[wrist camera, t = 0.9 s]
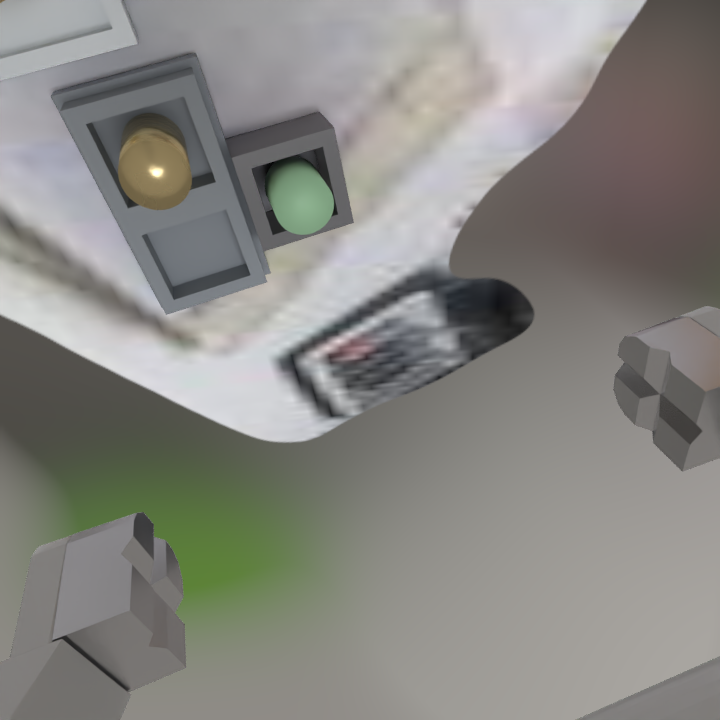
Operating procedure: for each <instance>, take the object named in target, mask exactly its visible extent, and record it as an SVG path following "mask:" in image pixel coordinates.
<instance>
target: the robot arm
mask: <svg viewBox="0 0 720 720" xmlns="http://www.w3.org/2000/svg"><path fill="white" fill-rule="evenodd" d="M618 356H619V357H620V358H621V359H622V360H623V361H624V363H623V365H622V366H621V367H620V369H619V370H618V372H617V373H616V374H615V379H614V392H615V396H616V399H617V402H618V404H619V406H620V408H621V409H622V411H623V412H624V414H625V415H626V416H627V417H628V418H629V419H630V420H631V421H632V422H633V423H634V424H635V425H636V426H639V427H642V428H645V429H648V430H651V431H652V432H653V443H654V444H655V445H656V446H657V447H658V448H659V449H660V450H661V451H662V452H663V453H664V454H665V455H666V456H667V457H668V458H669V459H670V460H671V461H672V462H673V463H674V464H675V465H676V466H677V467H678V468H679V469H680V470H681V471H685V470H688V469H691V468H694V467H696V466H699V465H702V464H704V463H707V462H710V461H713V460H715V459H718V458H720V310H719V309H717V308H714V307H709V306H706V307H703V308H700V309H697V310H695V311H692V312H689V313H687V314H684V315H681V316H679V317H677V318H672V319H670V320H667V321H664V322H662V323H659V324H656V325H654V326H651V327H649V328H646V329H643V330H640V331H638V332H635V333H632V334H630V335H627V336H625V337H624V338H623V340H622V341H621V342H620V344H619V350H618ZM182 583H183V582H182V576H181V572H180V568H179V564H178V561H177V559H176V556H175V554H174V552H173V550H172V548H171V547H170V545H169V544H168V543H167V541H166V540H163V539H159V538H155V537H154V524H153V523H152V522H151V521H150V519H149V518H148V517H147V516H146V515H145V514H144V512H141V513H135V514H133V515H129V516H126V517H123V518H120V519H118V520H115V521H111V522H108V523H105V524H102V525H100V526H96V527H93V528H91V529H88V530H85V531H82V532H78V533H76V534H73V535H71V536H68V537H65V538H62V539H59V540H57V541H54V542H50V543H47V544H44V545H42V546H39V547H38V548H37V549H36V551H35V552H34V554H33V555H32V557H31V560H30V564H29V569H28V574H27V578H26V583H25V588H24V593H23V597H22V602H21V607H20V612H19V616H18V621H17V626H16V630H15V635H14V640H13V644H12V649H11V654H10V658H9V659H6V660H4V661H1V662H0V720H120V719H121V717H122V714H123V712H124V710H125V708H126V705H127V703H128V701H129V698H130V693H128V692H130V691H133V690H135V689H137V688H140V687H142V686H144V685H147V684H149V683H151V682H153V681H156V680H159V679H161V678H163V677H165V676H168V675H170V674H173V673H175V672H177V671H180V670H182V669H184V668H186V652H185V624H184V623H183V622H182V621H181V620H180V619H179V617H178V616H177V615H176V614H175V611H176V610H177V608H178V606H179V604H180V602H181V601H182V598H183V584H182ZM577 720H720V656H719V657H717V658H715V659H712V660H710V661H708V662H706V663H703V664H701V665H699V666H697V667H694V668H692V669H690V670H687V671H685V672H683V673H681V674H678V675H676V676H674V677H672V678H669V679H667V680H665V681H663V682H660V683H658V684H656V685H653V686H651V687H649V688H647V689H644V690H642V691H640V692H638V693H635V694H633V695H631V696H628V697H626V698H624V699H622V700H619V701H617V702H615V703H613V704H610V705H608V706H606V707H604V708H601V709H599V710H597V711H595V712H592V713H590V714H588V715H585V716H583V717H581V718H579V719H577Z"/></svg>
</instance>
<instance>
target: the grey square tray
mask: <svg viewBox="0 0 720 720" xmlns="http://www.w3.org/2000/svg"><path fill="white" fill-rule="evenodd" d="M136 44H138V37H137V35H136V32H135V30H134V27H133V25H132V22H131V20H130V17H129V15H128V12H127V10H126V7H125V5H124V2H123V0H5V1H3V2H1V3H0V81H2V80H6V79H9V78H13V77H17V76H20V75H24V74H28V73H32V72H35V71H39V70H43V69H47V68H50V67H54V66H58V65H61V64H65V63H69V62H73V61H76V60H80V59H84V58H87V57H91V56H95V55H99V54H102V53H106V52H110V51H113V50H117V49H121V48H125V47H128V46H132V45H136Z"/></svg>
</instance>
